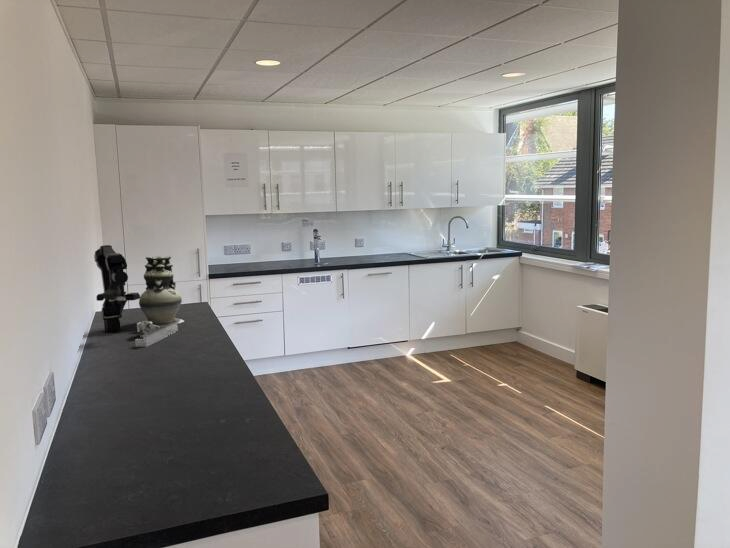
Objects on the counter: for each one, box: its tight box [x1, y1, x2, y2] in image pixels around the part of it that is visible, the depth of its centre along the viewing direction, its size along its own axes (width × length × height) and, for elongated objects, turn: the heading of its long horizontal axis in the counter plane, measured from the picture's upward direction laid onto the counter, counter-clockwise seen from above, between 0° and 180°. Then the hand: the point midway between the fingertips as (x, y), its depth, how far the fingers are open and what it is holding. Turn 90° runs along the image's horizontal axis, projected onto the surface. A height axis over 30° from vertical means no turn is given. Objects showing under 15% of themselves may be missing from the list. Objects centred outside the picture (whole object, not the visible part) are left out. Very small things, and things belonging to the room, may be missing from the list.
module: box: [136, 320, 152, 333], centre depth 289 cm, size 6×4×5 cm, turn 91°
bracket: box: [134, 321, 179, 348], centre depth 273 cm, size 6×29×5 cm, turn 171°
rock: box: [138, 322, 161, 339], centre depth 278 cm, size 15×10×7 cm
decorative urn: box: [138, 255, 185, 327], centre depth 306 cm, size 21×21×35 cm
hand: (119, 315), depth 275 cm, fingers closed
